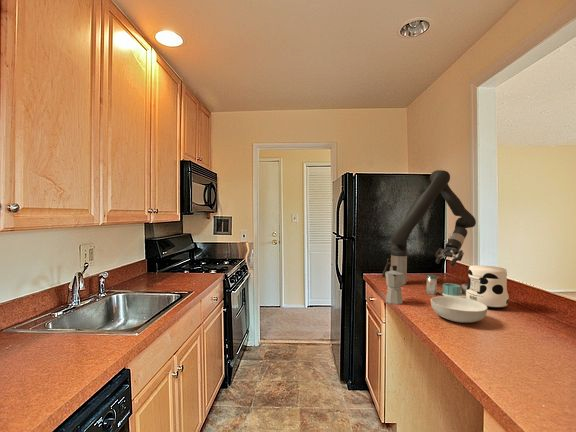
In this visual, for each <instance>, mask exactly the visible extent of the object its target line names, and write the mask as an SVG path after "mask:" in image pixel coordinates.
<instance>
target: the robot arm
mask: <svg viewBox="0 0 576 432" xmlns="http://www.w3.org/2000/svg"><path fill="white" fill-rule="evenodd" d="M450 180H451V175H450V173H449V172H448V171H447V170H441V169H440V170H437V169H436V170H434V171H432V172H431V174H430V176H429V181H430V184H429V185H428V187H427V188H426V189H425V190H424V191H423V192H422V193H421V194H420V195H419V196H418V197H417V198H416V199H415V200H414V201H413V203H412V204H411V206H410V207H409V209H408V211H407V213H406V215H405V217H404V219H403V221H402V222H401V223H400V225H399V226H398V227H397V229H395V230H394V231H393V232H392V233H391V235H390V239H391V240H390V242H391V244H390V259H391V260H390V262H391V266H390V267H389V271H392V270H393V268H392V266H397V271H399V272H402V273H404V277H403V284H402V286H403V285H406V284H407V277H408V276H407V275H408V274H407V273H408V272H407V270H408V269H407V268H408V264H407V263H408V247H407V246H408V245H407V244H408V240H409V237H410V235H411V234H412V232H413V230H414V229H415V227H416V226H417V225H418V224H419V223H420V221H421V220H422V219H423V218H424V216H425V215H426V213H427V212H428V211H429V209H430V208H431V207H432V205H433V203H434V202H435V200H436V198H437V197H438V196H439V194H440V195H441V196H442V197H443V199H444V200H445V202H446V204H447V205H448V207H449V209H450V211H451V212H452V214H453V215H454V216H455V217H459V218H457V219H456V220H455V225H454V230H453V232H452V234H451V235H450V237H449V238H448V240H447V243H446V245H445V247H444V248H441V247H439V248H438V249H437V250H436V252H435V254H434V256H435V258H436V259H435V263H436V264H437V265H439V264H440V263H441V259H443V258H446V257H447V258H451V262H450V266H451V267H454V266H455V265H456V263H457V262H461V261H462V259H463V256H464V254H465V252H464V251H463V250H462V249H461V248H462V246H463V244H464V242H465V240H466V237H467V235H468V230H467V229H471V228H475V226H476V224H477V220H476V218H475V217H474V215H473V214H472V213H471V212H470V211H469V210H467V209H466V208H465V206H464V204H463V203H462V201H461V199H460V198H459V196H458V195H456V193H455V192H454V191H453V189H452V188H451V187H450V185H449V183H450ZM456 255H457V256H456Z"/></svg>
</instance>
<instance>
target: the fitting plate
mask: <svg viewBox="0 0 576 432" xmlns="http://www.w3.org/2000/svg"><path fill="white" fill-rule="evenodd" d="M467 287H468V283H462V284H461V285H460V284H457V283H450V282H447V283H442V290H438V294H440V295H441V296H452V297H461V298H466V290H467ZM466 299H467V298H466Z"/></svg>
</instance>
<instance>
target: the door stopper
mask: <svg viewBox="0 0 576 432" xmlns="http://www.w3.org/2000/svg"><path fill="white" fill-rule="evenodd" d="M388 266H390V267H391V258H387V259H386V265H385V267H384V269H383V272H382V274H381V278H386V275H385V272H388Z"/></svg>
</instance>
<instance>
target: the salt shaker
mask: <svg viewBox="0 0 576 432" xmlns="http://www.w3.org/2000/svg"><path fill="white" fill-rule="evenodd" d="M437 277H438V275H436V274H427V275H426V289H425V292H426V294H427V295H429V296H436V295H437V291H438V290H437V283H438V282H437V280H438V279H437Z"/></svg>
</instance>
